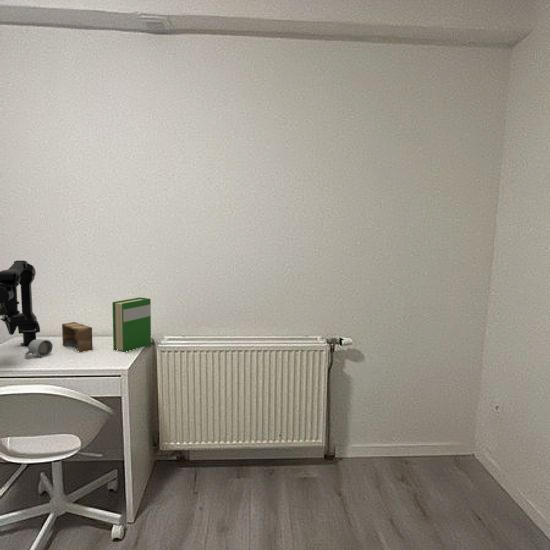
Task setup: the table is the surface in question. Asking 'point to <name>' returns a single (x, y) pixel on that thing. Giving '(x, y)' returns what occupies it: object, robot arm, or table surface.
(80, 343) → the wooden storage tray
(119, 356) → the table surface
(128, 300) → the hardback book
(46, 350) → the ceramic mug
